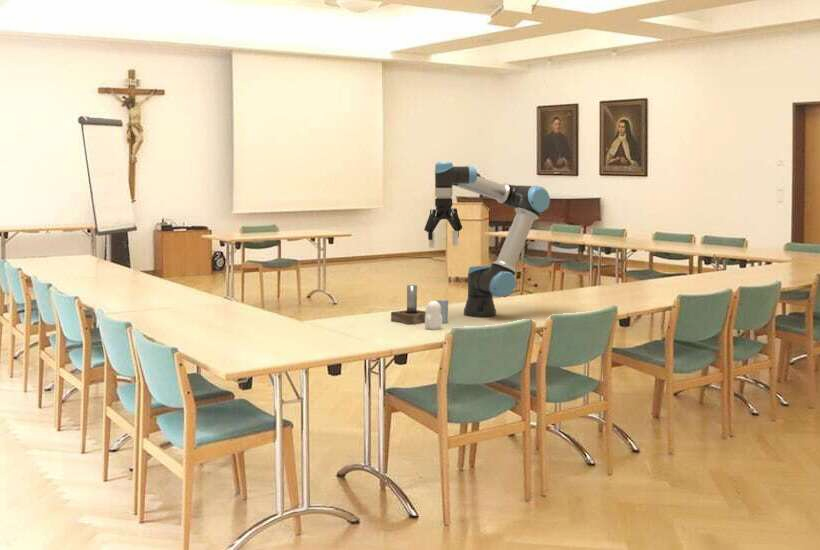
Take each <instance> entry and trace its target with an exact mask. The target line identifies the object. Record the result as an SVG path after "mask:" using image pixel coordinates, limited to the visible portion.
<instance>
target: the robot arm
mask: <svg viewBox="0 0 820 550" xmlns="http://www.w3.org/2000/svg"><path fill="white" fill-rule="evenodd" d="M434 182H435V183H434V187H435V188H434V196H435V199H434V206H435V208H433V209H432V208H431V209H430V210H429V216H428V218H427V221H426V224H425V226H424V231H425V232H426V233H428V234H427V237H428V241H429V242H428V246H429V248H433V249H434V248H436V245H435V243H436V242H435V241H436V240H435V236H436V235H435V233H436V232H434V231H435V229H436V228H437V226H438V224H439V223H440V221H442V220H447V221H448V223H449V224H450V226H451V228H452V229H453V230H452V231H451V233H452V234H451V237H452V238H451V240H452V243H451V245H452V246H454V247H455V246H456V247H458V246H459V237H460V236H459V234H460V232H461V230H462V229H463V226H462V223H461V219H460V217H459V215H458V209H457V208H456V207H455V208H452V207H453V198H452V197H453V186H454V187H458V188H460V189H464V190H466V191H469V192H472V193H475V194H478V195H482V196H484V197H487V198H490V199H494V200H496V202H497V203H499V204H502V205H504V206H507V207H509V208H511V209H514V211H515V217H514V219H513V221H512V223H511V225H510V228H509V230H508V233H507V235H506V238H505V239H504V242H503V245H502V247H501V249H500V252H499V255H498V256H497V258H496V260H495V261H493V262H492V263H491V264H490V265H478V266H476V265H475V266H470V267H468V272H467V299H466V303H465V306H464V308H463V315H465V316H469V317H475V318H476V317H478V318H485V317H489V318H490V317H494V316H497V309H496V308H495V307H496V305H495V302H494V299H493V298H494V297H499V298H500V297H501V298H504V297H507V296H510V295H511V294H512V293H513V292H514V290H515V289H516V287H517V286H516V284H517V282H516V270H515V267H516V265H517V262H518V260H519V256H520V255H521V252H522V250H523V248H524V245H525V243H526V240H527V239H528V235H529V233H530V231H531V228H532V225H533V223H534V221H537V220H538V219H539V218H540V215H541V213H543V212H545V211H546V210H548V208H549V206H550V203H551V199H550V195H549V192H548V191H547V189H546V188H545V187H543V186H539V185H513V184H508V183H499V182H495V181H494V180H490V179H487V178H484V177H481V176H479V175H478V171H477V169H476V168H475V167H474V166H470V165H467V166H460V165H459V166H454V165H453V162H452V161H437V162H436V163H435V166H434ZM493 296H494V297H493Z"/></svg>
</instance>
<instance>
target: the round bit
mask: <svg viewBox="0 0 820 550" xmlns="http://www.w3.org/2000/svg"><path fill="white" fill-rule="evenodd" d="M417 301H418V285H414V284H408V285H407V286H406V310H407V313H411V314H413V313H417V310H418V307H417V305H418V303H417Z"/></svg>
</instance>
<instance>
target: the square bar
mask: <svg viewBox="0 0 820 550" xmlns="http://www.w3.org/2000/svg"><path fill="white" fill-rule="evenodd" d="M435 301H437V302H438V303H439V304H440V306H441V315H442V324H443V325H445V324H447V323H448V322H449V300H448V299H437V300H435ZM442 324H441V325H442Z"/></svg>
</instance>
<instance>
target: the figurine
mask: <svg viewBox="0 0 820 550" xmlns="http://www.w3.org/2000/svg"><path fill="white" fill-rule="evenodd" d="M426 305H427V306H426V308H425V312H426V314H425V323H424V328H425V329H426V330H434V331H435V330H440V328H441V326H442V315H441V306H440V304H439V303H438V302H437V301H436V300H431V301H429V302H428V303H427V304H426Z"/></svg>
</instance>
